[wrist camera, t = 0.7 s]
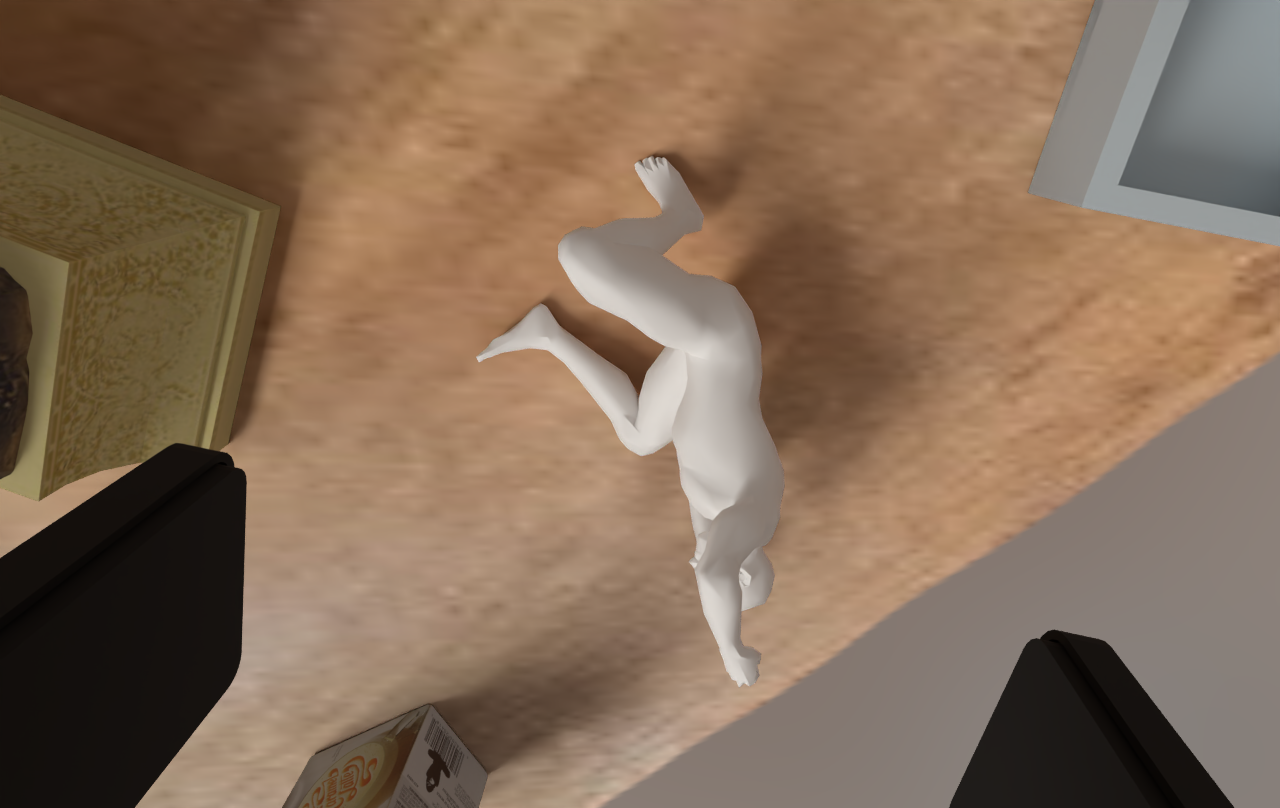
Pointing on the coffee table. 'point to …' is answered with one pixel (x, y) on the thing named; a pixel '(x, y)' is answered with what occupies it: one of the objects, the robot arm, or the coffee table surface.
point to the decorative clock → (116, 302)
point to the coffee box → (394, 769)
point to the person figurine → (681, 393)
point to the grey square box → (1173, 117)
